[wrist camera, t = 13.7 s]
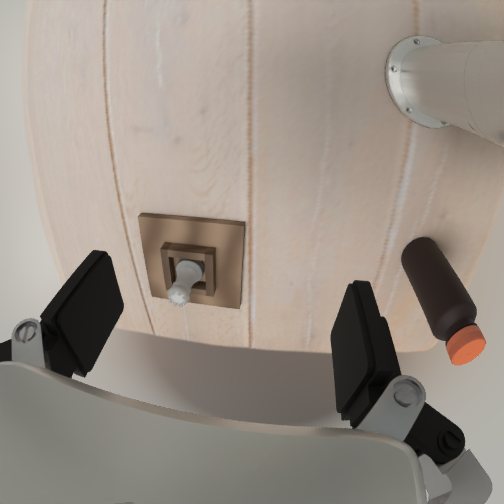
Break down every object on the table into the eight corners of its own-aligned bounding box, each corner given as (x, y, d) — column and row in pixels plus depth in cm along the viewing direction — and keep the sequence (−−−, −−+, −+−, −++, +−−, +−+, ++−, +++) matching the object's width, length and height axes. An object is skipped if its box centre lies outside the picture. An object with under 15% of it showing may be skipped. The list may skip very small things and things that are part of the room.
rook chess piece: (186, 248, 43) (169, 282, 37) (210, 264, 44) (198, 300, 38) (173, 266, 45) (156, 300, 39) (196, 281, 47) (183, 316, 40)
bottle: (437, 264, 41) (486, 358, 25) (402, 276, 43) (441, 376, 27) (435, 231, 38) (497, 324, 22) (398, 243, 40) (447, 346, 24)
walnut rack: (245, 222, 41) (242, 233, 38) (240, 304, 50) (238, 317, 47) (141, 213, 42) (132, 222, 39) (154, 292, 51) (148, 303, 48)
